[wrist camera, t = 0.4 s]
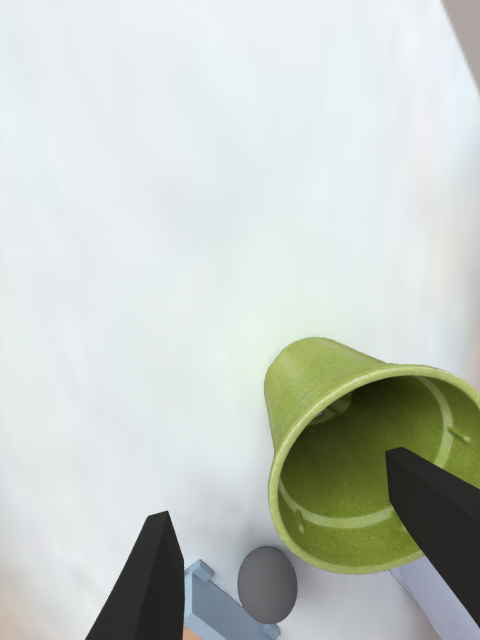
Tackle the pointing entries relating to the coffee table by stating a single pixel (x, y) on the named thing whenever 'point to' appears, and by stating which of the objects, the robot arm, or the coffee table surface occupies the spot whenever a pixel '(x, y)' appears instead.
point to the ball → (267, 585)
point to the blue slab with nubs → (218, 611)
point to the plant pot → (358, 449)
